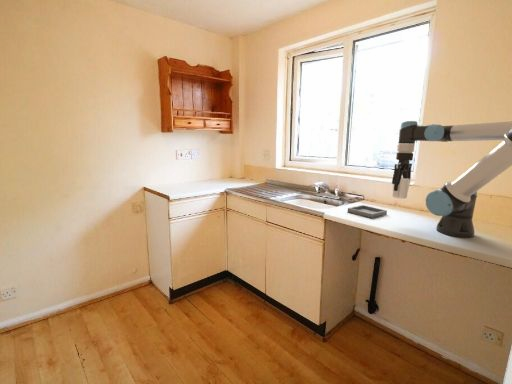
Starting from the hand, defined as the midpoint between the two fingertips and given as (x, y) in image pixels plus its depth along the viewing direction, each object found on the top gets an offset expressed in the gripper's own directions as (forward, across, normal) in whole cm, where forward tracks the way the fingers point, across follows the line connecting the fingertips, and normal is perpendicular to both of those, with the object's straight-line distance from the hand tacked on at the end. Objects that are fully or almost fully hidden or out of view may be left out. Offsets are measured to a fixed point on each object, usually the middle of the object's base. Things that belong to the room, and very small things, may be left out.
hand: (399, 196), depth 146 cm
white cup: (+1, 0, 0) cm, 1 cm away
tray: (+15, -5, -20) cm, 26 cm away
